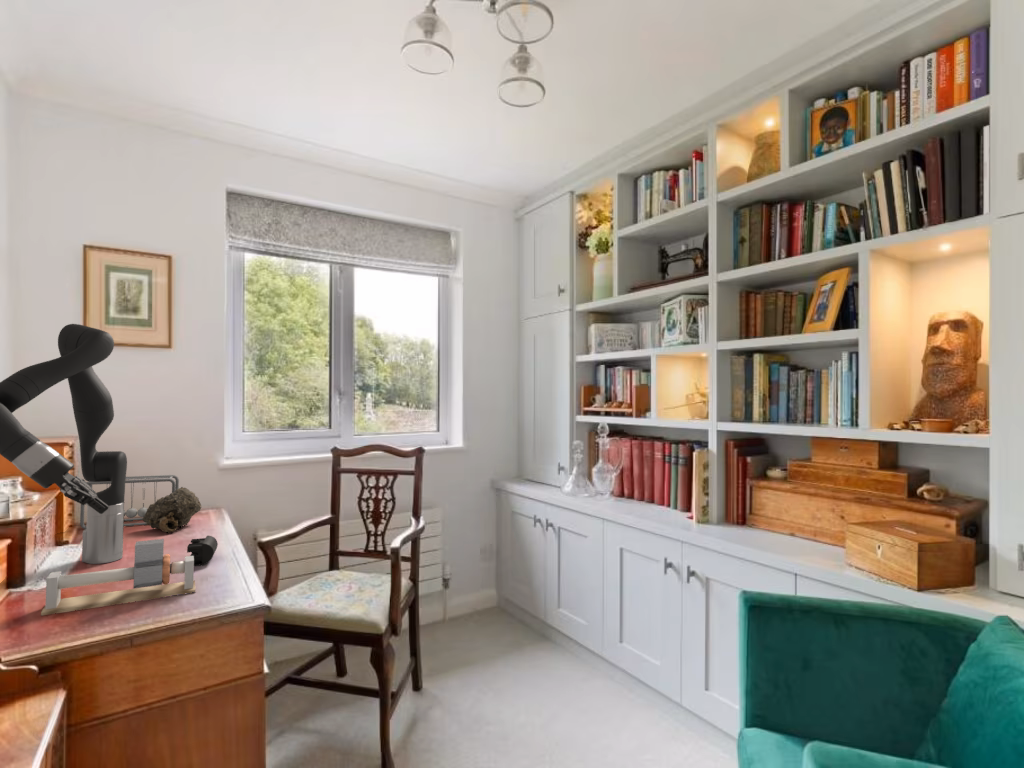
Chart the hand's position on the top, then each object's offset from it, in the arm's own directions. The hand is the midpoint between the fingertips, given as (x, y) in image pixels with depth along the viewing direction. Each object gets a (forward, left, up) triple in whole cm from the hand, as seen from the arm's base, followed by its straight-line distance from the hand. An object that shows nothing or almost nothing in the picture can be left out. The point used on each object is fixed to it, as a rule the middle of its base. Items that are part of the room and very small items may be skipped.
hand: (105, 510), depth 137 cm
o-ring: (+12, +6, -20) cm, 24 cm away
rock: (-25, +69, -23) cm, 77 cm away
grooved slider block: (+9, +4, -19) cm, 22 cm away
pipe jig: (+4, +2, -22) cm, 23 cm away
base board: (+4, +2, -22) cm, 23 cm away
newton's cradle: (-45, +77, -23) cm, 92 cm away
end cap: (+7, +32, -23) cm, 40 cm away
